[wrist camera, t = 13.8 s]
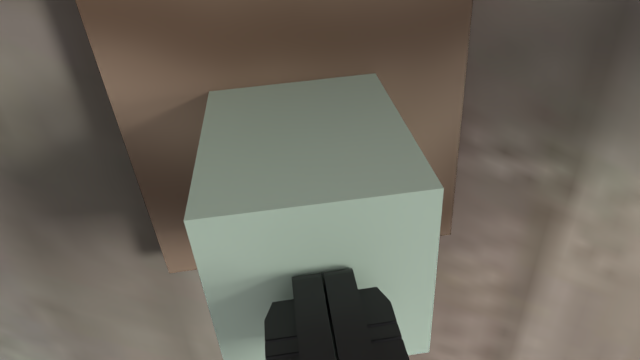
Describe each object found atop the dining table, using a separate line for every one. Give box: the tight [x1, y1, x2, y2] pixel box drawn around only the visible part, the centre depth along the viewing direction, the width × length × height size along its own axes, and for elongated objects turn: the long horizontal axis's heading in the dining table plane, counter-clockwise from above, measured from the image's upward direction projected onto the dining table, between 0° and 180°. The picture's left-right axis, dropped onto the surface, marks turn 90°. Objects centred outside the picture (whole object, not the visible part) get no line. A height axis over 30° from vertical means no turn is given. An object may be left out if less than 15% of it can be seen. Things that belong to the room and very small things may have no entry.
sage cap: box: [184, 73, 444, 360], centre depth 15 cm, size 6×6×7 cm
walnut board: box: [75, 0, 473, 273], centre depth 15 cm, size 20×12×2 cm, turn 4°
